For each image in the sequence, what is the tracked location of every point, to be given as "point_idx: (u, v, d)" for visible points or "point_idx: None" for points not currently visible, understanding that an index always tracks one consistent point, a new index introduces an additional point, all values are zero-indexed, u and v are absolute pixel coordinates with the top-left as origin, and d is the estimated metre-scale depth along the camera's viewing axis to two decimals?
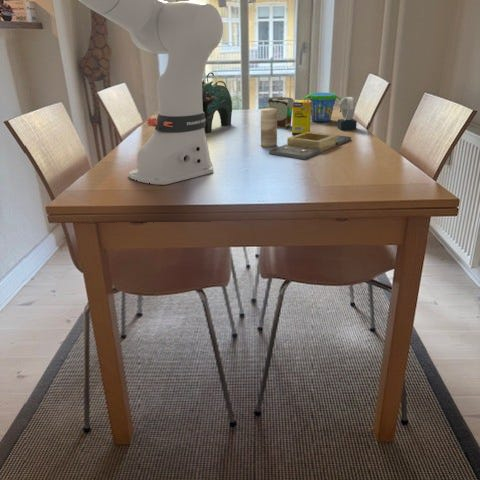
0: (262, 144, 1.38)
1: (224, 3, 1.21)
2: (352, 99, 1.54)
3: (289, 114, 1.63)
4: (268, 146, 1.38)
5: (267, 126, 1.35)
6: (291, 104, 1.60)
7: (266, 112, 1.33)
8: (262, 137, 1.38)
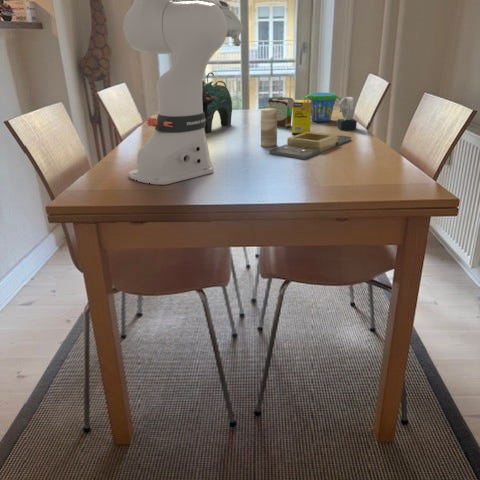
0: (262, 144, 1.38)
1: None
2: (352, 99, 1.54)
3: (289, 114, 1.63)
4: (268, 146, 1.38)
5: (267, 126, 1.35)
6: (291, 104, 1.60)
7: (266, 112, 1.33)
8: (262, 137, 1.38)
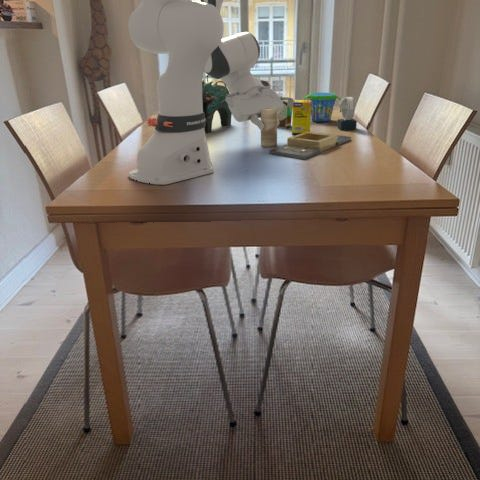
0: (262, 144, 1.38)
1: None
2: (352, 99, 1.54)
3: (289, 114, 1.63)
4: (268, 146, 1.38)
5: (267, 126, 1.35)
6: (291, 104, 1.60)
7: (266, 112, 1.33)
8: (262, 137, 1.38)
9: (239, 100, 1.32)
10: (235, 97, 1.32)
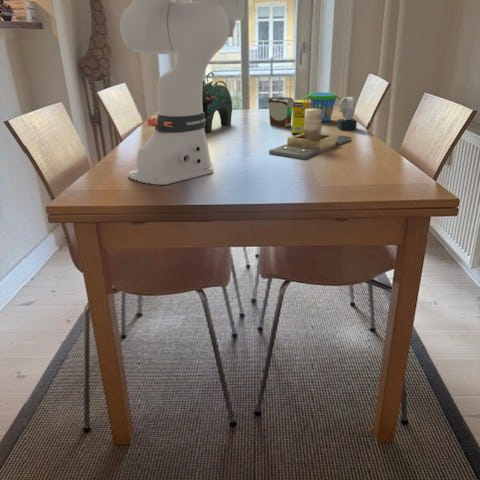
0: None
1: None
2: (352, 99, 1.54)
3: (289, 114, 1.63)
4: None
5: (311, 126, 1.32)
6: (291, 104, 1.60)
7: (311, 113, 1.31)
8: (306, 138, 1.35)
9: None
10: None
